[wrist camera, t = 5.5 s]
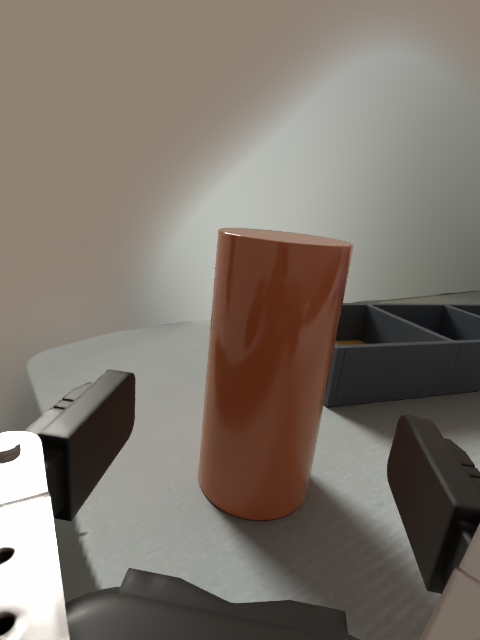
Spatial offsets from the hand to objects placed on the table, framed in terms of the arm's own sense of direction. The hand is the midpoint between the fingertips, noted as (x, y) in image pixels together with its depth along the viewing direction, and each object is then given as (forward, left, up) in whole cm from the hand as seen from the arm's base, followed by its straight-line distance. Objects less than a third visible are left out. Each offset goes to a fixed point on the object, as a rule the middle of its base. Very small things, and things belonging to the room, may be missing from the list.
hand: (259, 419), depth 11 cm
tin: (+3, +5, -7) cm, 9 cm away
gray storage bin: (+27, +16, -7) cm, 32 cm away
